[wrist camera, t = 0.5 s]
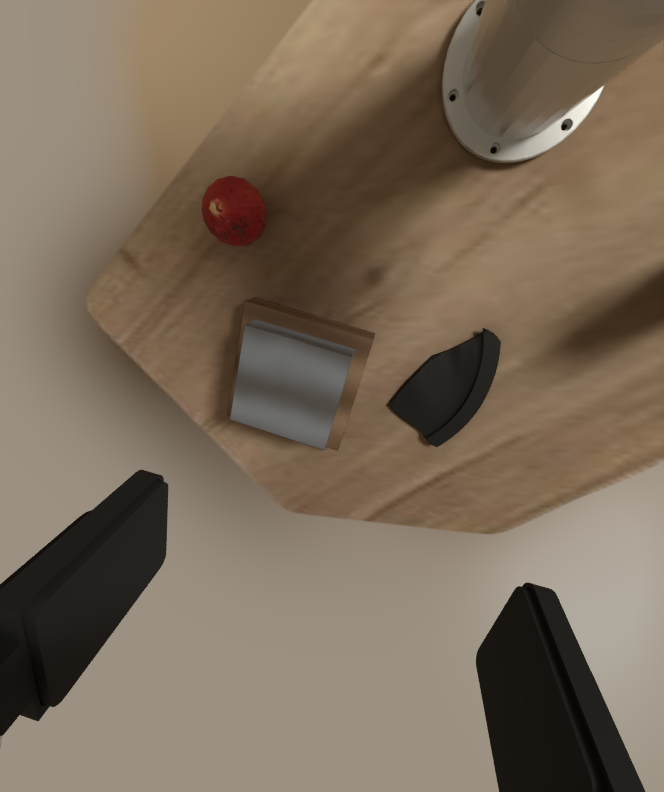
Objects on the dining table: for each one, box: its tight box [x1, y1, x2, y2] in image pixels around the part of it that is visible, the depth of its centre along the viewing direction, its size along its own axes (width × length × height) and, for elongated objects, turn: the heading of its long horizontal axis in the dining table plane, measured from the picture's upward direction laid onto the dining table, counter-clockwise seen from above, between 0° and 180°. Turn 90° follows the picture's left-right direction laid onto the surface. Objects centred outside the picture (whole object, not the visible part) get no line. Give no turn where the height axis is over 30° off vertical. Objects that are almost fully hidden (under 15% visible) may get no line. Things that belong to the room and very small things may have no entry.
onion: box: [202, 176, 266, 246], centre depth 34 cm, size 6×6×8 cm
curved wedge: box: [389, 328, 501, 447], centre depth 41 cm, size 8×14×2 cm, turn 142°
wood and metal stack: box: [227, 297, 375, 451], centre depth 41 cm, size 14×14×6 cm
